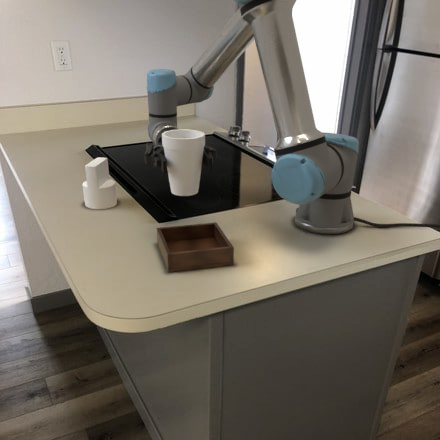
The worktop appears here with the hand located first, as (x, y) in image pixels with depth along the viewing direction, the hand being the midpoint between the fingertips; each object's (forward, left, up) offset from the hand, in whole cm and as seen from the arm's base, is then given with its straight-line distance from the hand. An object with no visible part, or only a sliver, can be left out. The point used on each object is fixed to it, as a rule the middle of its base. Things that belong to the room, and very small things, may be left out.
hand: (188, 166), depth 106 cm
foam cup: (+2, -4, -7) cm, 9 cm away
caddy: (-2, +4, -19) cm, 20 cm away
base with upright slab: (+31, -23, -20) cm, 44 cm away
